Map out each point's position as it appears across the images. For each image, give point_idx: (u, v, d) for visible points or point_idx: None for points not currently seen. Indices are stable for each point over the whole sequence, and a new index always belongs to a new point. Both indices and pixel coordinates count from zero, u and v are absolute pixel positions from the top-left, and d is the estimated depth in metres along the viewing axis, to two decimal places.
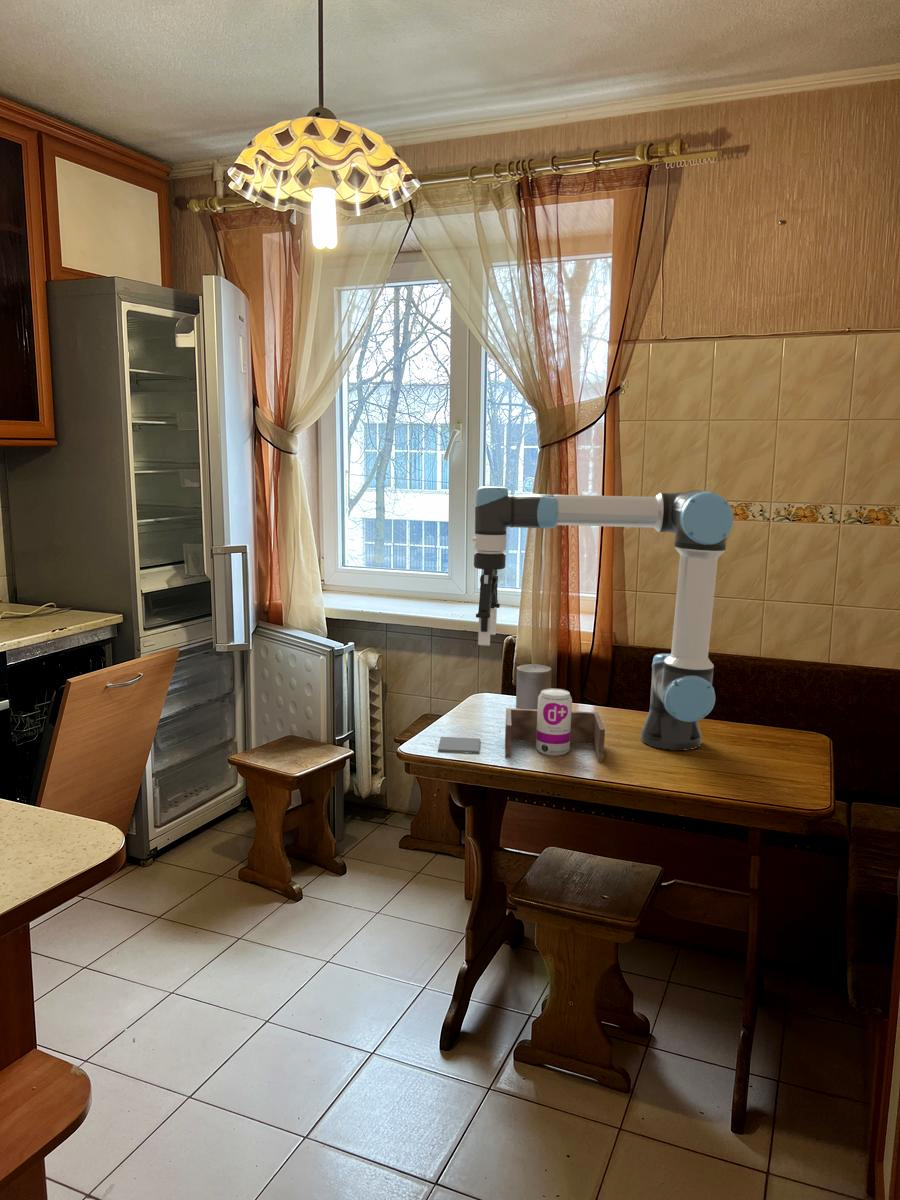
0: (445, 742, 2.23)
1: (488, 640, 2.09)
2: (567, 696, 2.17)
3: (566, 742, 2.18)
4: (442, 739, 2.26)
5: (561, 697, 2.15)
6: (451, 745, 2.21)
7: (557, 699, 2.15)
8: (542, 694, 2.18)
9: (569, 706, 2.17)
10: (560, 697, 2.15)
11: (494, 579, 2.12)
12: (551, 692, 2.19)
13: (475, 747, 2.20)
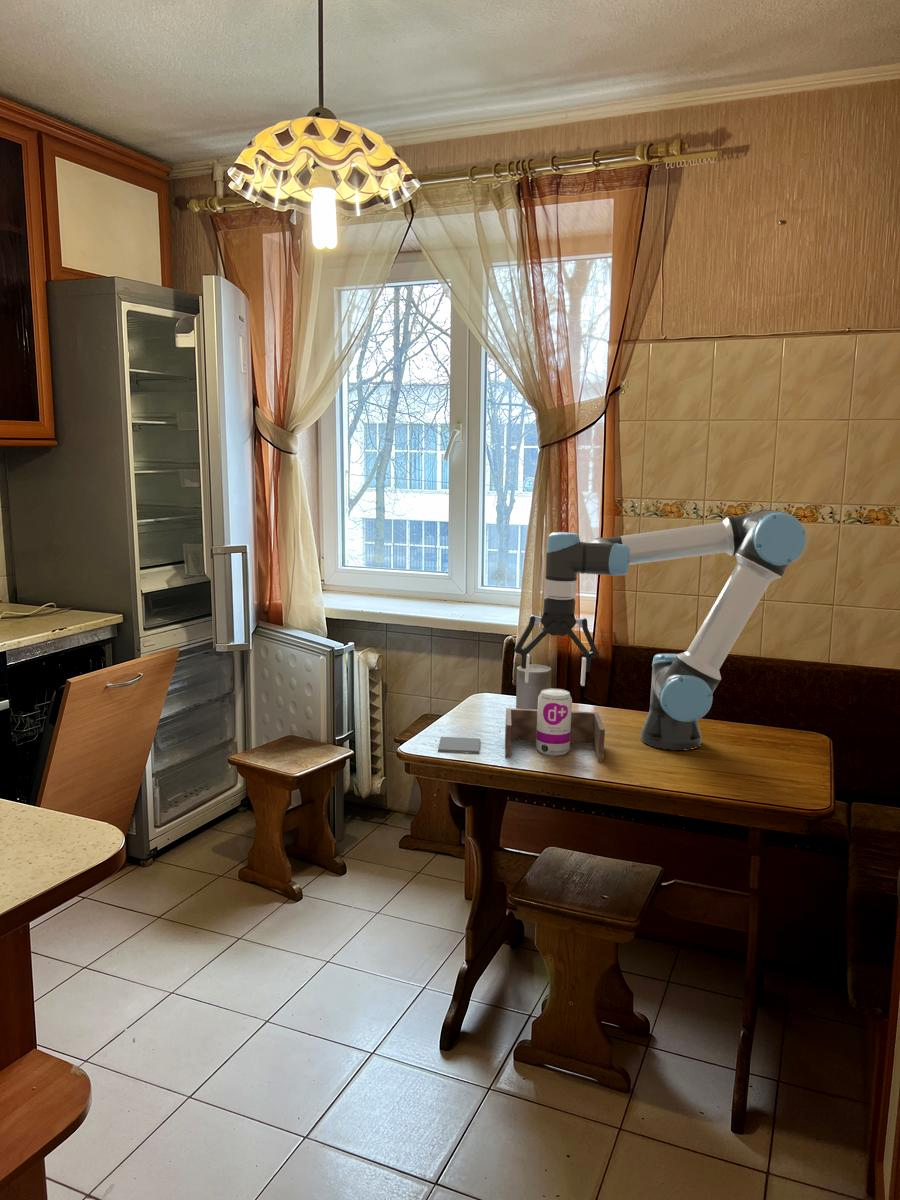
0: (445, 742, 2.23)
1: (525, 677, 2.18)
2: (567, 696, 2.17)
3: (566, 742, 2.18)
4: (442, 739, 2.26)
5: (561, 697, 2.15)
6: (451, 745, 2.21)
7: (557, 699, 2.15)
8: (542, 694, 2.18)
9: (569, 706, 2.17)
10: (560, 697, 2.15)
11: (550, 623, 2.15)
12: (551, 692, 2.19)
13: (475, 747, 2.20)
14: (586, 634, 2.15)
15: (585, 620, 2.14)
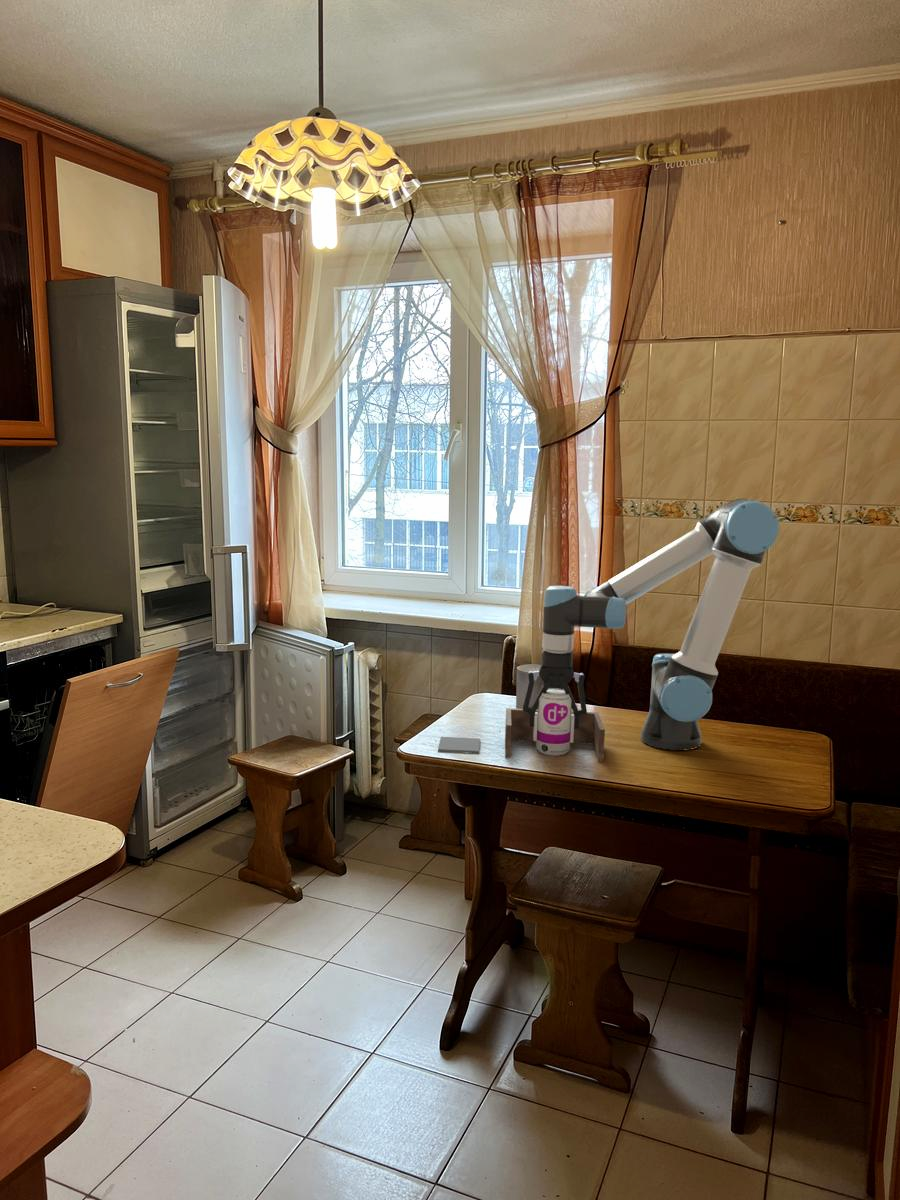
0: (445, 742, 2.23)
1: (533, 735, 2.20)
2: (567, 696, 2.17)
3: (566, 742, 2.18)
4: (442, 739, 2.26)
5: (561, 697, 2.16)
6: (451, 745, 2.21)
7: (557, 699, 2.15)
8: (542, 694, 2.18)
9: (569, 706, 2.17)
10: (560, 697, 2.15)
11: (548, 677, 2.17)
12: (551, 692, 2.19)
13: (475, 747, 2.20)
14: (580, 690, 2.17)
15: (583, 676, 2.17)
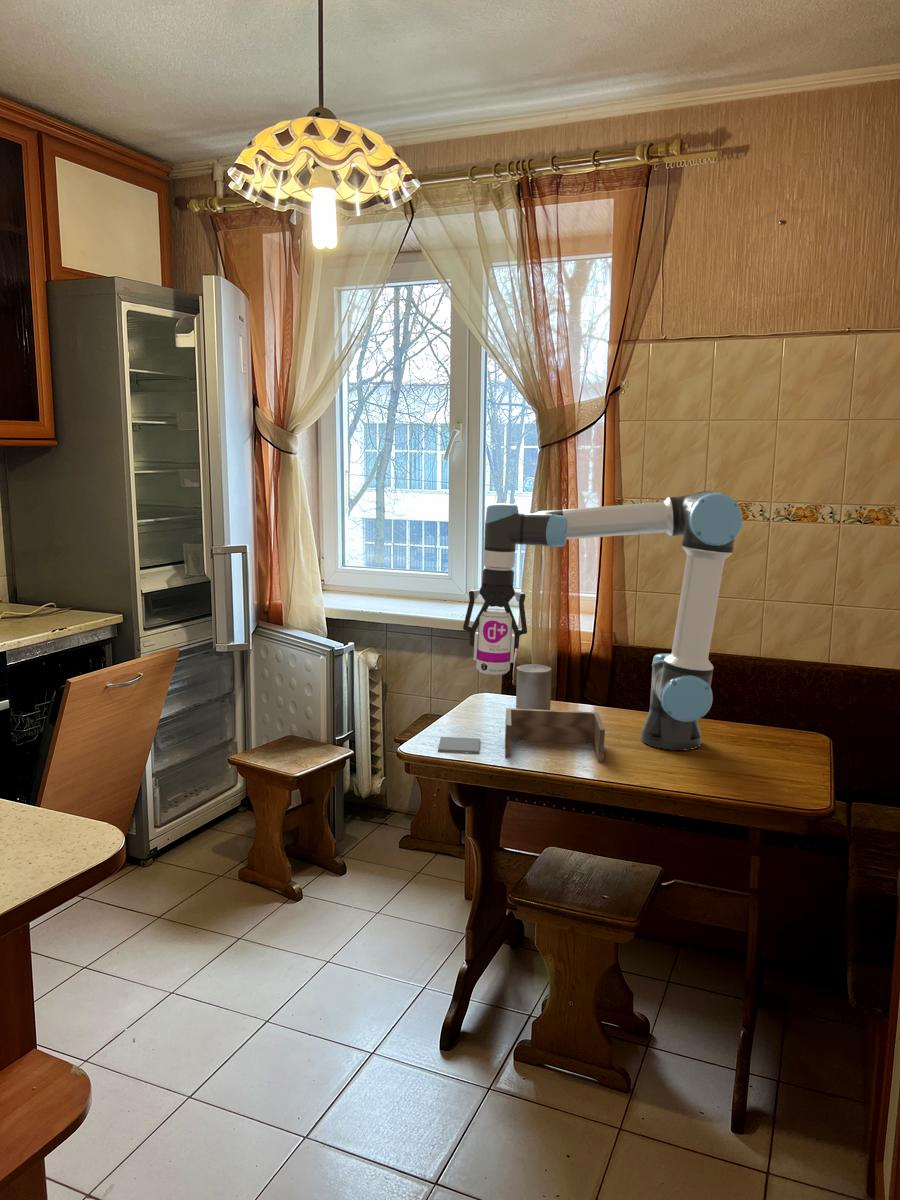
0: (445, 742, 2.23)
1: None
2: (507, 614, 2.15)
3: (506, 662, 2.16)
4: (442, 739, 2.26)
5: (501, 615, 2.14)
6: (451, 745, 2.21)
7: (496, 617, 2.13)
8: None
9: (509, 625, 2.15)
10: (500, 615, 2.14)
11: (488, 595, 2.15)
12: (492, 611, 2.17)
13: (475, 747, 2.20)
14: (520, 609, 2.15)
15: (523, 595, 2.15)
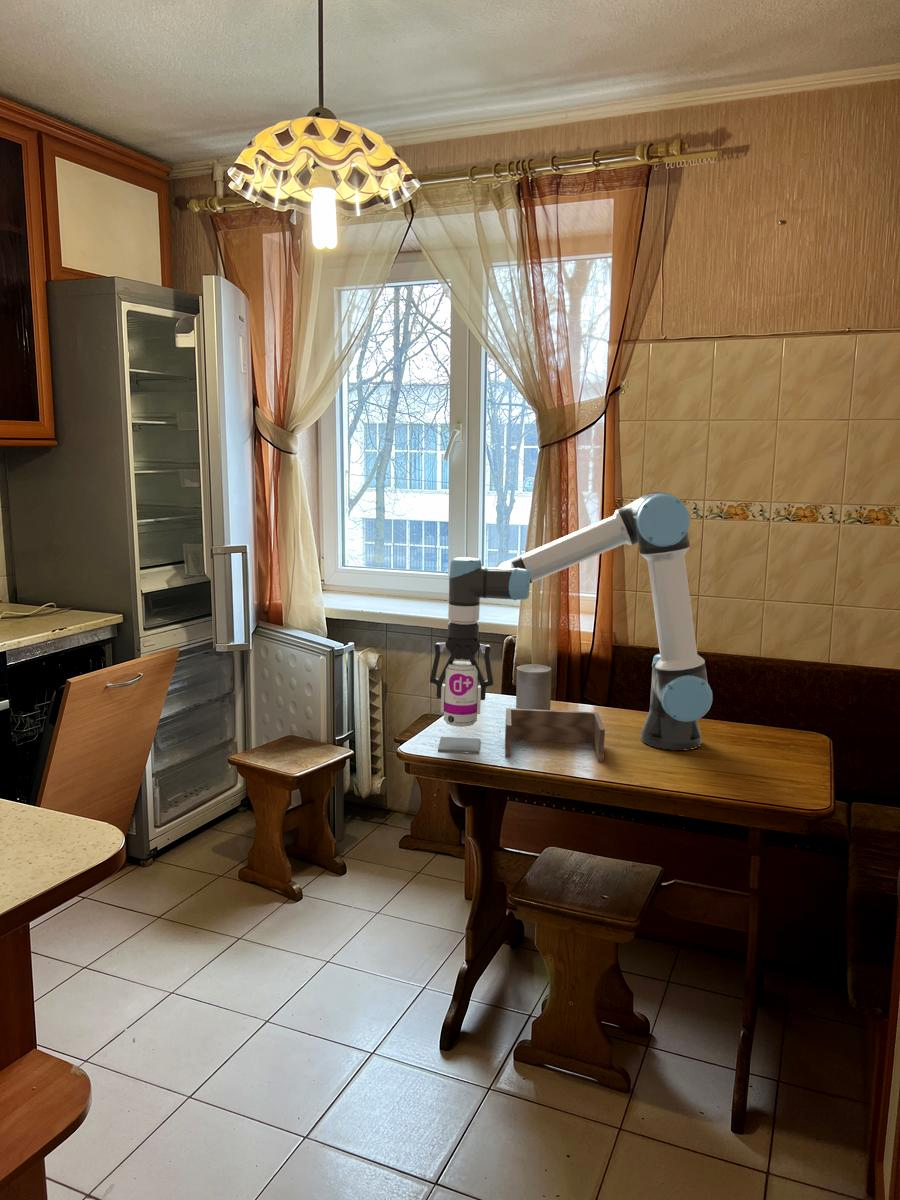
0: (445, 742, 2.23)
1: None
2: (473, 667, 2.17)
3: (472, 713, 2.19)
4: (442, 739, 2.26)
5: (466, 668, 2.16)
6: (451, 745, 2.21)
7: (462, 670, 2.16)
8: (448, 665, 2.18)
9: (475, 677, 2.18)
10: (465, 668, 2.16)
11: (454, 648, 2.18)
12: (458, 663, 2.20)
13: (475, 747, 2.20)
14: (486, 661, 2.18)
15: (488, 648, 2.17)
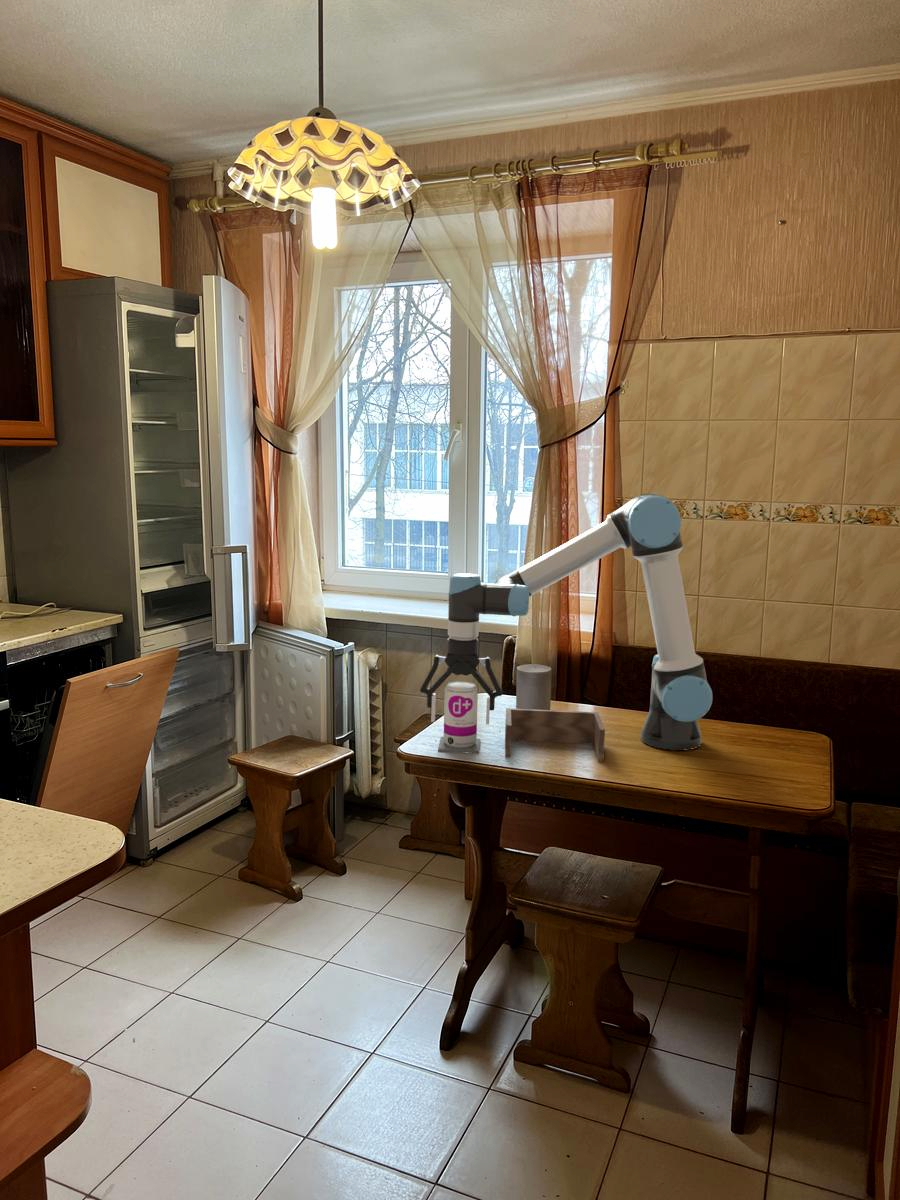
0: None
1: (431, 716, 2.21)
2: (472, 689, 2.18)
3: (472, 735, 2.19)
4: (442, 739, 2.26)
5: (465, 690, 2.17)
6: None
7: (461, 692, 2.17)
8: (447, 687, 2.19)
9: (474, 699, 2.18)
10: (464, 690, 2.17)
11: (453, 663, 2.18)
12: (457, 685, 2.20)
13: (475, 747, 2.20)
14: (489, 673, 2.18)
15: (488, 660, 2.18)
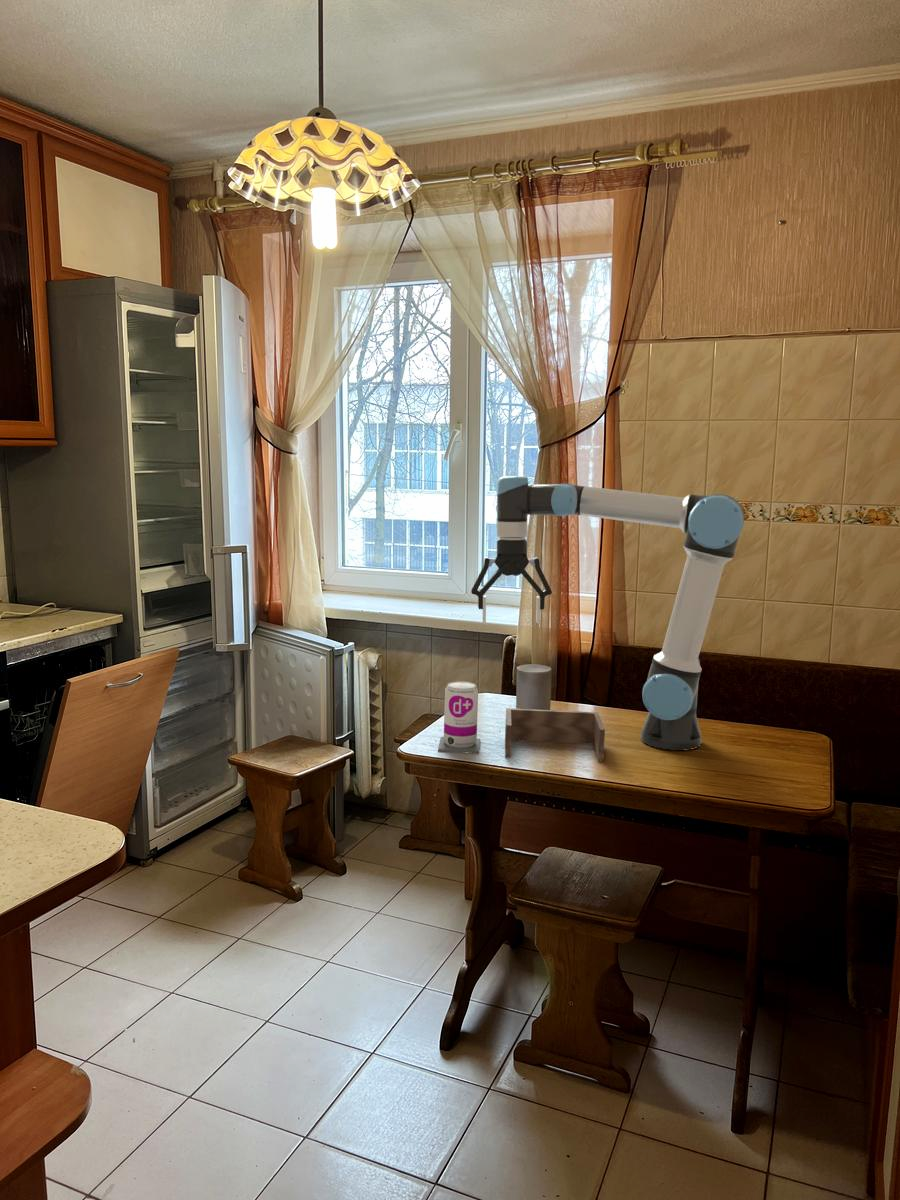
0: None
1: None
2: (472, 689, 2.18)
3: (472, 735, 2.19)
4: (442, 739, 2.26)
5: (466, 690, 2.17)
6: None
7: (461, 692, 2.17)
8: (448, 687, 2.19)
9: (474, 699, 2.18)
10: (465, 690, 2.17)
11: (504, 564, 2.24)
12: (457, 685, 2.21)
13: (475, 747, 2.20)
14: (539, 573, 2.24)
15: (537, 559, 2.24)
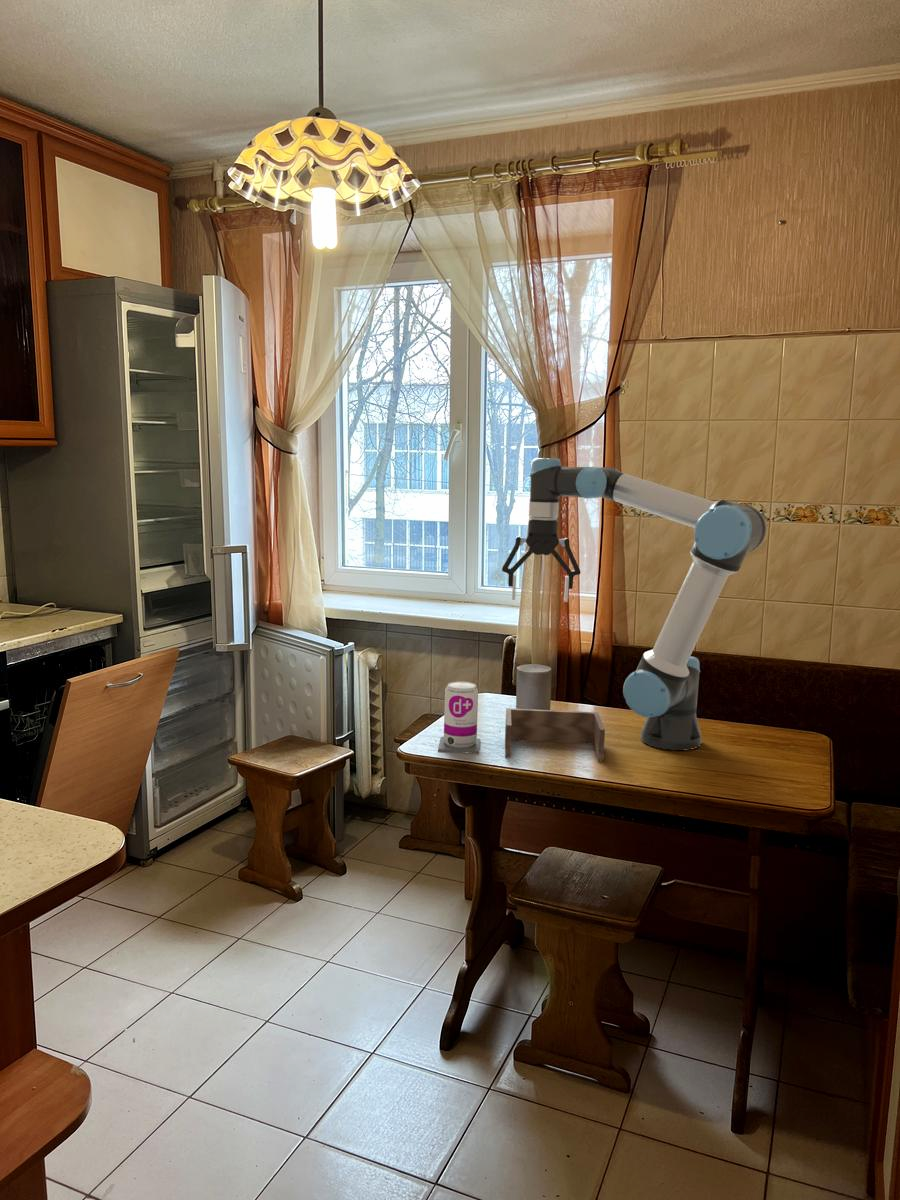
0: None
1: (512, 595, 2.33)
2: (472, 689, 2.18)
3: (472, 735, 2.19)
4: (442, 739, 2.26)
5: (466, 690, 2.17)
6: None
7: (461, 692, 2.17)
8: (448, 687, 2.19)
9: (474, 699, 2.18)
10: (465, 690, 2.17)
11: (534, 543, 2.30)
12: (458, 685, 2.21)
13: (475, 747, 2.20)
14: (568, 553, 2.30)
15: (567, 540, 2.30)
